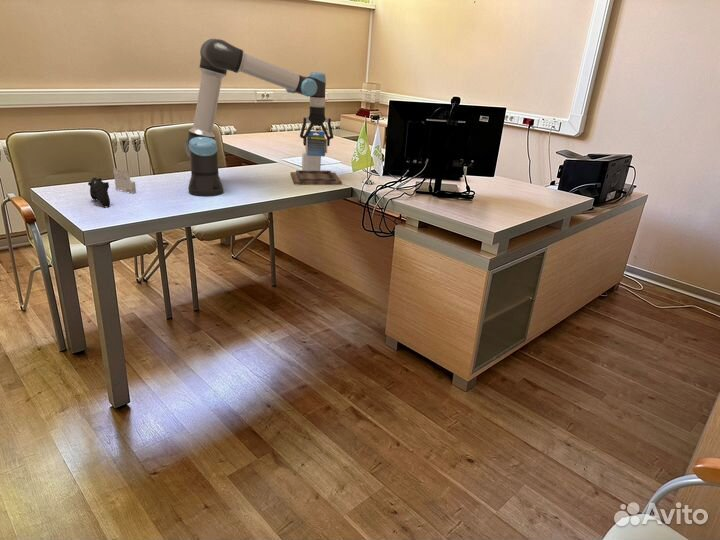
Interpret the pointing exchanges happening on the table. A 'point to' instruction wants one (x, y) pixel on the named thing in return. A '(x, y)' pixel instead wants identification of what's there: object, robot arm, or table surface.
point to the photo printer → (310, 162)
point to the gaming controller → (99, 191)
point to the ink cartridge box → (124, 181)
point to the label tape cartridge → (316, 143)
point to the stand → (315, 178)
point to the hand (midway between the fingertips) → (316, 152)
